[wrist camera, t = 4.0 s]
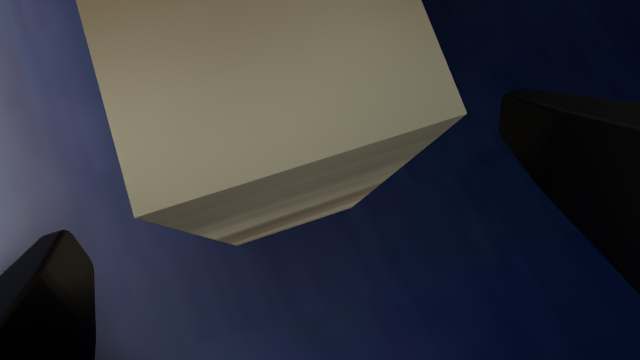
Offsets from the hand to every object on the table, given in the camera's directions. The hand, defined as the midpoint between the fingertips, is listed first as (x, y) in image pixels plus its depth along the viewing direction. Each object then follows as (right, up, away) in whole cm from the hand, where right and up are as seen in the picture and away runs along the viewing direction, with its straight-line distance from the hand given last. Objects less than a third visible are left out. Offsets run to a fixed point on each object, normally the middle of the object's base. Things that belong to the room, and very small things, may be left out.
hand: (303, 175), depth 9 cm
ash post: (-1, 0, +10) cm, 10 cm away
